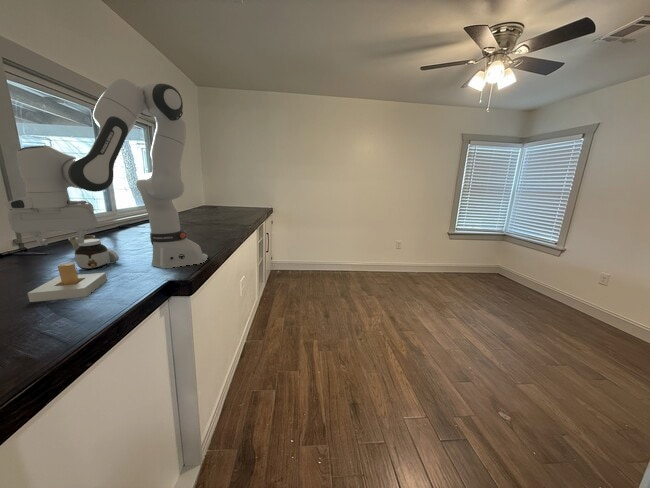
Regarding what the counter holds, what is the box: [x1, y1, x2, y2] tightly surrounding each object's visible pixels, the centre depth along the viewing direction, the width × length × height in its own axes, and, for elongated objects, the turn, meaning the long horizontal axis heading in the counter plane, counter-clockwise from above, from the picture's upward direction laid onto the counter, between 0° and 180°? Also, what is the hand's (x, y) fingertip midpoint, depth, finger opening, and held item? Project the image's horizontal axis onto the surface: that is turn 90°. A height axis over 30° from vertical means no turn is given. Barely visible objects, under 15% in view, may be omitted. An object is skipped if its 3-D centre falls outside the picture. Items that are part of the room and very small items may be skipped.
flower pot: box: [67, 235, 96, 252], centre depth 123 cm, size 9×9×9 cm
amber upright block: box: [57, 262, 79, 286], centre depth 86 cm, size 4×4×9 cm
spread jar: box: [74, 238, 120, 271], centre depth 108 cm, size 12×11×12 cm
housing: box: [27, 272, 108, 303], centre depth 86 cm, size 14×14×3 cm
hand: (62, 244), depth 83 cm, fingers open, 8 cm apart
